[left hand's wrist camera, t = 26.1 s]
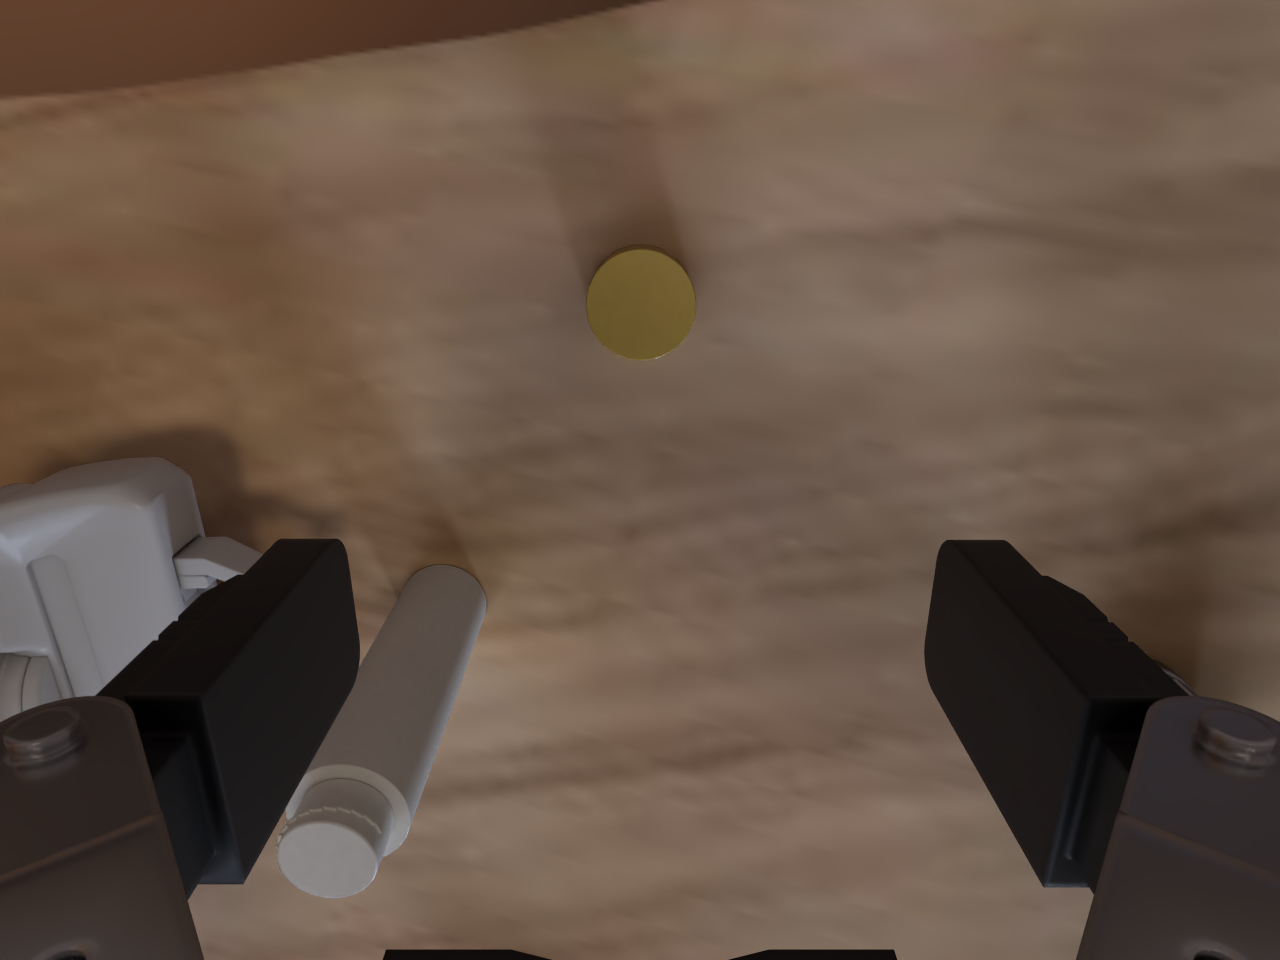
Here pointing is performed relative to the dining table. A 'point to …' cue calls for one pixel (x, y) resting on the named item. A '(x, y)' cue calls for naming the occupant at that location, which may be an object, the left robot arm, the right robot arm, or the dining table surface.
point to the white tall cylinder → (383, 738)
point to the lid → (641, 302)
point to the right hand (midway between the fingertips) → (325, 677)
